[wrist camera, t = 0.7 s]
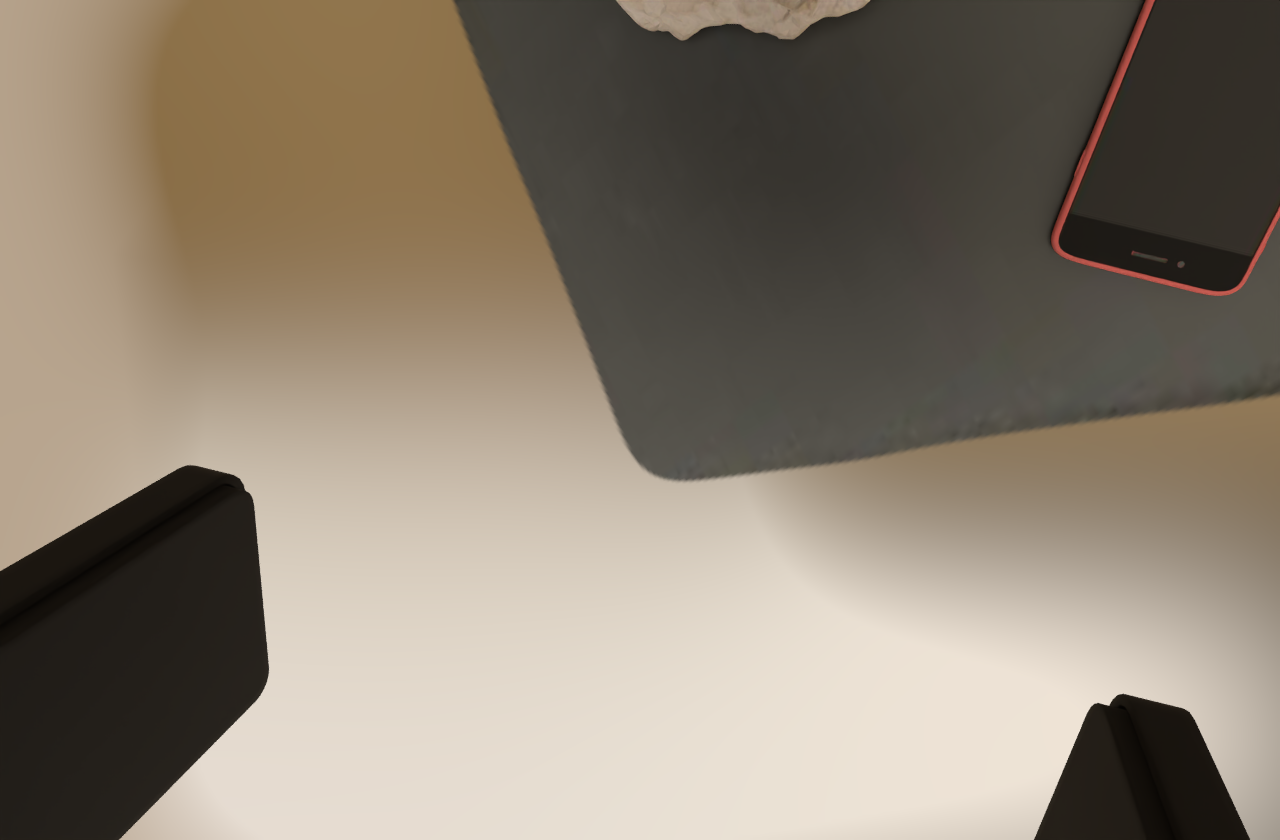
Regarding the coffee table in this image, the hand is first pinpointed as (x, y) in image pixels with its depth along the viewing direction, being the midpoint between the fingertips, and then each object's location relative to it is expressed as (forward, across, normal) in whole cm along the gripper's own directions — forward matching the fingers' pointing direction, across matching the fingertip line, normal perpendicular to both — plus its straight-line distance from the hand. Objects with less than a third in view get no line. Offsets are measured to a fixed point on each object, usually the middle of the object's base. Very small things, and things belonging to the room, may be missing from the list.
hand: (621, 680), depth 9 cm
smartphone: (+29, -13, -7) cm, 32 cm away
